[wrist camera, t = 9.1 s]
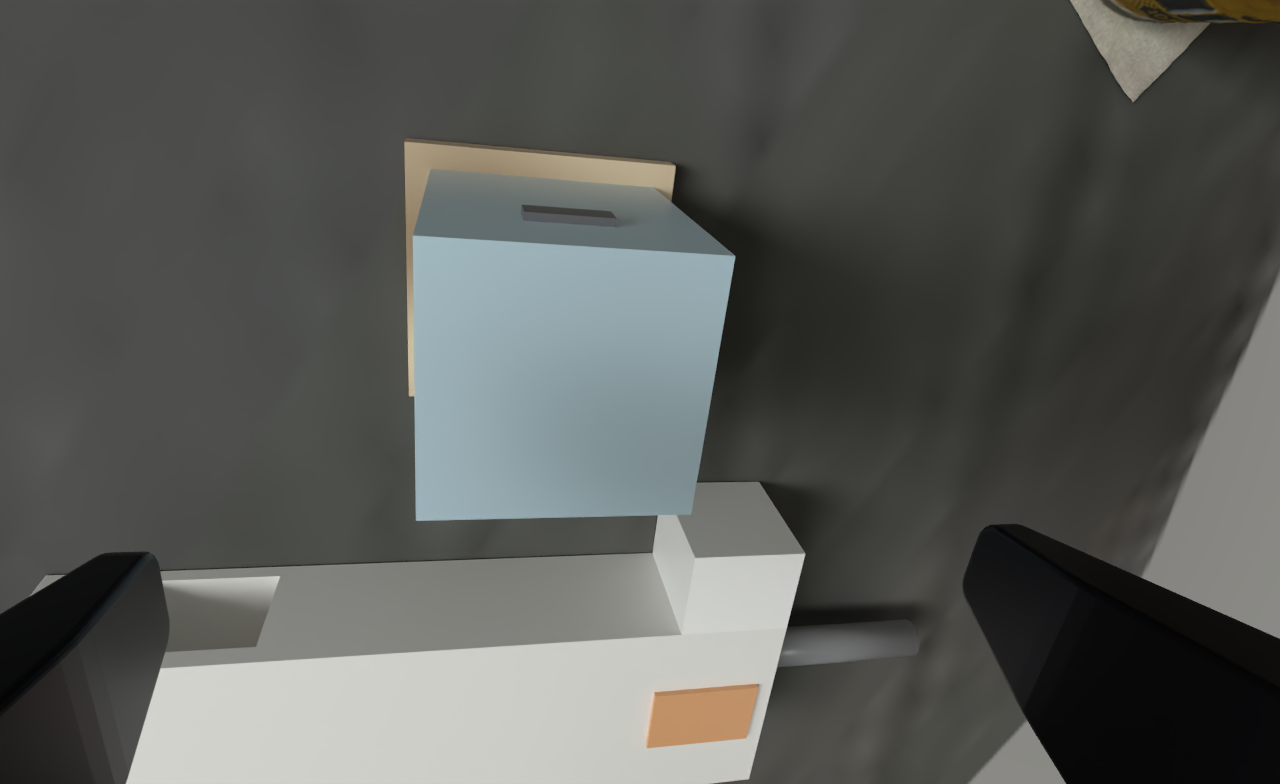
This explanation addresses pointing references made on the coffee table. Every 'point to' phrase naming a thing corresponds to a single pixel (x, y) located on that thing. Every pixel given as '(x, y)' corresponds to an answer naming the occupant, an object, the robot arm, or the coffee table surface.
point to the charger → (560, 348)
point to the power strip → (495, 662)
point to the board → (513, 163)
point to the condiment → (1158, 31)
